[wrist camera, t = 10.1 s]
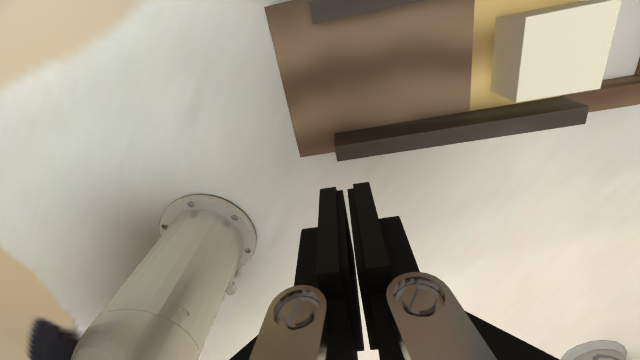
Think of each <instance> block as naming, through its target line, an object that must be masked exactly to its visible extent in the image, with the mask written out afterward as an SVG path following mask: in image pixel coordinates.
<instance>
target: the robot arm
mask: <svg viewBox="0 0 640 360" xmlns="http://www.w3.org/2000/svg"><path fill="white" fill-rule="evenodd" d="M353 187H354V188H353V189H347V190H348V199H349V207H350V216H351V225H352V234H353V242H354V251H355V260H356V267H357V274H358V280H359V286H360V292H361V298H362V304H363V310H364V315H365V321H366V327H367V333H368V339H369V344H370V350H375V349H378V350H379V357H380V360H559V359H557V358H555V357H553V356H551V355H550V354H548V353H546V352H544V351H542V350H540V349H538V348H536V347H534V346H532V345H530V344H528V343H526V342H524V341H522V340H520V339H518V338H517V337H515V336H513V335H511V334H509V333H507V332H505V331H503V330H501V329H499V328H497V327H495V326H493V325H491V324H489V323H487V322H485V321H484V320H482V319H480V318H478V317H476V316H474V315H472V314H470V313H468V312H466V311H464V309H463V308H462V307H461V305H460V304H459V302H458V301H457V299H456V298H455V296H454V295H453V293H452V292H451V290H450V289H449V287H448V286H447V285H446V284H445V283H444V282H443V281H442V280H440V279H438V278H437V277H435V276H433V275H430V274H427V273H422V272H420V271H419V269H418V266H417V263H416V260H415V258H414V255H413V252H412V250H411V247H410V244H409V241H408V239H407V236H406V233H405V231H404V228H403V225H402V223H401V220H400V218H399V216H395V217H388V218H381V219H378V215H377V211H376V208H375V204H374V200H373V196H372V192H371V188H370V184H369V182H365V183H358V184H353ZM159 231H160V236H161V237H160V238H159V240H158V241H157V242H156V243H155V245H154V246H153V247H152V248H151V250H150V251H149V252H148V253H147V255H146V256H145V257H144V258H143V260H142V261H141V262H140V263H139V265H138V266H137V267H136V268H135V270H134V271H133V272H132V273H131V275H130V276H129V277H128V278H127V280H126V281H125V282H124V284H123V285H122V286H121V287H120V289H119V290H118V291H117V292H116V294H115V295H114V296H113V297H112V299H111V300H110V301H109V302H108V304H107V305H106V306H105V307H104V309H103V310H102V311H101V312H100V314H99V315H98V316H97V317H96V319H95V320H94V321H93V322H92V324H91V325H90V326H89V328H88V329H87V330H86V332H85V333H84V334H83V336H82V337H81V339H80V340H79V342H78V344H77V346H76V348H75V350H74V352H73V355H72V358H71V360H198V358H199V355H200V353H201V350H202V348H203V345H204V343H205V340H206V338H207V335H208V333H209V330H210V328H211V326H212V323H213V321H214V318H215V316H216V313H217V311H218V308H219V306H220V303H221V302H222V301H223V299H224V296H225V295H224V293H225V291H226V292H227V294H228V295H232V294H234V293H235V292H236V291H237V288H236V286H235V284H234V282H233V281H232V280H233V277H234V275H235V272H236V270H237V269H239V268H241V267H242V266H244V265H245V264H246V263H247V262H248V261H249V260H250V258H251V257H252V255H253V253H254V250H255V247H256V233H255V230H254V227H253V225H252V223H251V222H250V220H249V218H248V217H247V216H246V215H245V214H244V213H243V212H242V211H241V210H240V209H239V208H237V207H236V206H235V205H233V204H231V203H229V202H228V201H225V200H223V199H220V198H218V197H214V196H209V195H189V196H186V197H182V198H180V199H178V200H176V201H174V202H173V203H172V204H171V205H170V206H169V207H168V208H167V209H166V210H165V212H164V213H163V215H162V217H161V219H160V223H159ZM357 351H364V342H363V333H362V324H361V315H360V306H359V297H358V288H357V279H356V270H355V261H354V253H353V247H352V241H351V236H350V230H349V224H348V218H347V213H346V207H345V201H344V195H343V190H340V191H337V190H336V187H332V188H325V189H320V198H319V217H318V227H315V228H307V229H302V231H301V237H300V245H299V252H298V260H297V267H296V275H295V282H294V286H293V287H291V288H288V289H286V290H284V291H283V292H281V293H280V294H278V295H277V296H276V297H275V298H274V300H273V301H272V303H271V304H270V306H269V308H268V311H267V313H266V316H265V319H264V321H263V324H262V326H261V329H260V332H259V334H258V335H257V336H256V337H255V338H254V339H253V340H252V341H250V342H249V343H248V344H247V345H246V346H245V347H243V348H242V349H241V350H240V351H239V352H238V353H237V354H235V355H234V356H233V357H232V358H231V359H230V360H358V356H357Z"/></svg>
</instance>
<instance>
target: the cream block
mask: <svg viewBox="0 0 640 360" xmlns="http://www.w3.org/2000/svg"><path fill="white" fill-rule="evenodd" d="M621 2H622V0H586V1H574V2H569V3H564V4H559V5H554V6H549V7H544V8H539V9H534V10H529V11H524V12H519V13H514V14H509V15H504V16H499V17H496V22H495V35H494V48H493V61H492V74H491V88H490V90H491V91H493V92H495V93H497V94H499V95H501V96H503V97H505V98H508V99H510V100H512V101H514V102H516V103H517V102H523V101H529V100H535V99H541V98H547V97H553V96H559V95H565V94H571V93H577V92H583V91H589V90H596V89H600V88H601V84H602V79H603V75H604V71H605V67H606V63H607V59H608V55H609V51H610V47H611V43H612V38H613V34H614V30H615V26H616V22H617V18H618V14H619V10H620V6H621Z"/></svg>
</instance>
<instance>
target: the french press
mask: <svg viewBox="0 0 640 360" xmlns="http://www.w3.org/2000/svg"><path fill="white" fill-rule="evenodd" d="M626 354H627V351H626V349H625V347H624V346H623V345H621V344H619V343H618V342H615V341H607V340H600V341H591V342H587V343H584V344H581V345H578V346H576V347H574V348H572V349H571V350H569V351H567V352H566V353H565V354H564V356H563V357H562V358H561V360H626V359H625V358H626Z"/></svg>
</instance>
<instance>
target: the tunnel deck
mask: <svg viewBox="0 0 640 360" xmlns="http://www.w3.org/2000/svg"><path fill="white" fill-rule="evenodd" d="M574 1H579V0H293V1H289V2H284V3H280V4H276V5H271V6H267V7H264V8H265V12H266V16H267V20H268V24H269V29H270V33H271V37H272V41H273V45H274V49H275V54H276V58H277V62H278V66H279V70H280V74H281V78H282V83H283V87H284V91H285V95H286V99H287V103H288V107H289V112H290V116H291V120H292V124H293V128H294V132H295V137H296V141H297V145H298V149H299V153H300V157H305V156H312V155H318V154H324V153H331V152H336V157H337V161H343V160H350V159H356V158H363V157H369V156H376V155H383V154H389V153H396V152H402V151H409V150H416V149H422V148H429V147H435V146H442V145H448V144H455V143H462V142H468V141H475V140H481V139H488V138H495V137H501V136H508V135H514V134H521V133H528V132H534V131H541V130H547V129H554V128H560V127H567V126H574V125H580V124H585V123H586V118H587V114H588V112H593V111H600V110H606V109H613V108H619V107H625V106H632V105H638V104H640V59H639V63H638V66H637V70H636V73H635V75H632V76H626V77H620V78H614V79H608V80H602V84H601V88H600V89H596V90H589V91H583V92H577V93H571V94H565V95H559V96H553V97H547V98H541V99H535V100H529V101H523V102H517V103H516V102H514V101H512V100H510V99H508V98H505V97H503V96H501V95H499V94H497V93H495V92H493V91H491V90H490V88H491V74H492V61H493V48H494V35H495V22H496V17H499V16H504V15H509V14H514V13H519V12H524V11H529V10H534V9H539V8H544V7H549V6H554V5H559V4H564V3H569V2H574Z"/></svg>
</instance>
